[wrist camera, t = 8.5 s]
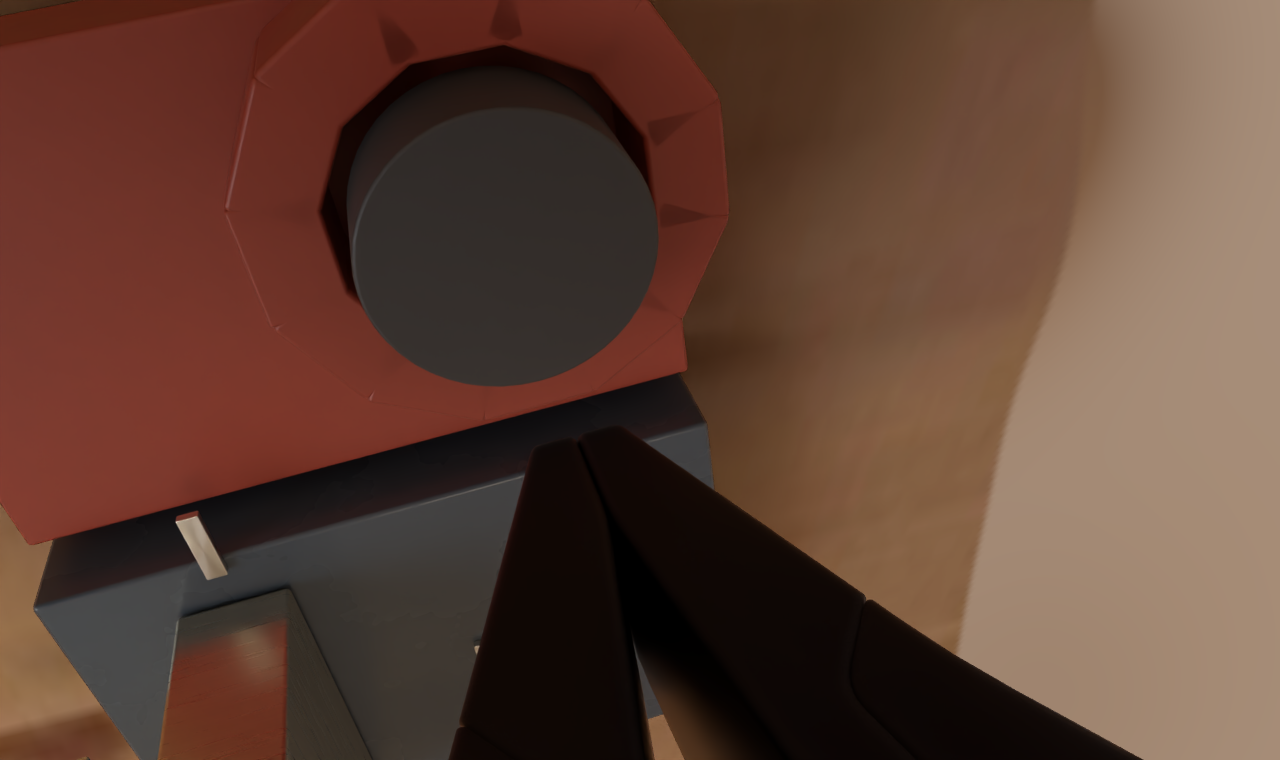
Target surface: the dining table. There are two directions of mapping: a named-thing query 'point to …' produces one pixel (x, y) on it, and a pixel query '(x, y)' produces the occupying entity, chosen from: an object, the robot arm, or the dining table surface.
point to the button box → (275, 234)
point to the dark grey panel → (341, 569)
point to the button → (498, 227)
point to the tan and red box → (254, 688)
